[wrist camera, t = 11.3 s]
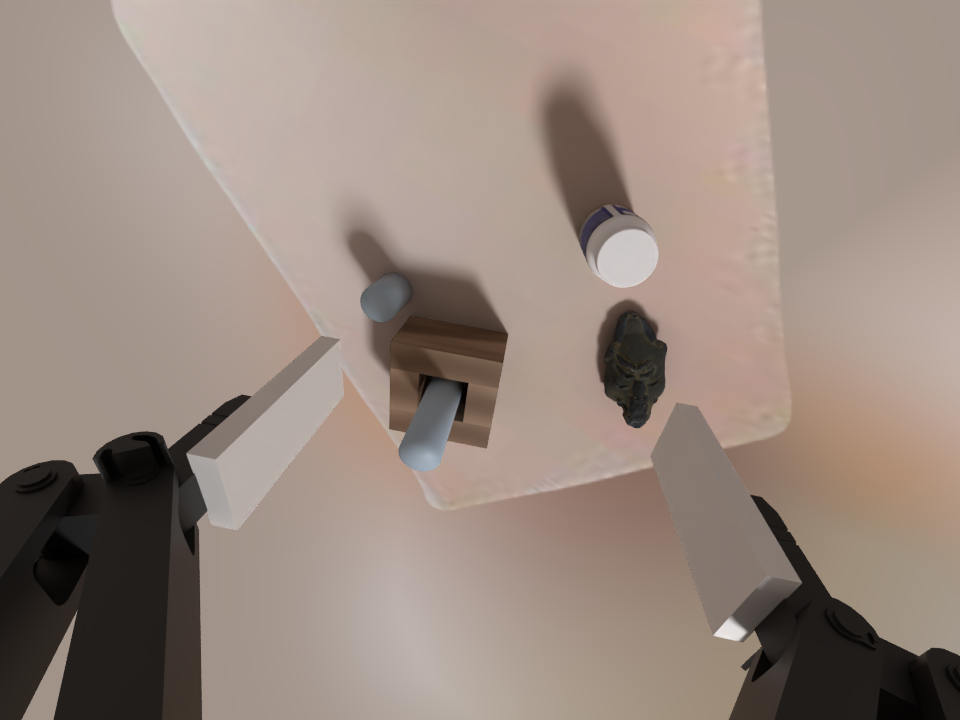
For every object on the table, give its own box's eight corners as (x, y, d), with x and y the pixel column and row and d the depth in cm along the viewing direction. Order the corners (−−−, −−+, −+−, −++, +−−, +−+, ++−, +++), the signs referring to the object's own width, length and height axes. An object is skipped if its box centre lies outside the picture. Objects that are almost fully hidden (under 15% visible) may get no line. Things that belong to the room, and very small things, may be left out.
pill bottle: (584, 268, 40) (595, 301, 32) (573, 213, 38) (583, 233, 29) (641, 253, 39) (669, 284, 30) (634, 195, 36) (663, 211, 28)
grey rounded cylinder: (381, 268, 44) (362, 281, 39) (414, 279, 44) (399, 293, 39) (376, 299, 46) (358, 315, 41) (407, 310, 46) (393, 326, 41)
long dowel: (439, 351, 48) (399, 434, 34) (470, 356, 48) (442, 443, 34) (437, 377, 50) (398, 466, 36) (467, 382, 50) (439, 474, 36)
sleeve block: (410, 316, 46) (390, 342, 40) (508, 333, 45) (503, 362, 39) (407, 396, 52) (389, 429, 46) (493, 412, 51) (486, 448, 45)
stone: (665, 304, 41) (681, 323, 37) (660, 405, 47) (673, 432, 43) (600, 311, 43) (607, 331, 38) (603, 408, 49) (609, 435, 44)
